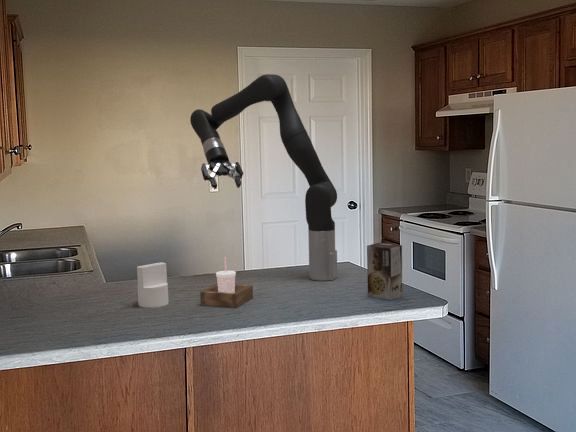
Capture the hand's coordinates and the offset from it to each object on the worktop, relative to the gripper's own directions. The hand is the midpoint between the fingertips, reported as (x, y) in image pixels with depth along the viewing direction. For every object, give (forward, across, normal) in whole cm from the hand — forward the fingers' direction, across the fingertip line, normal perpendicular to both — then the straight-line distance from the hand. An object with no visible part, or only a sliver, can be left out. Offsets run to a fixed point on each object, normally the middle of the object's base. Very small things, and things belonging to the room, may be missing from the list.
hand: (227, 186), depth 228 cm
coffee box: (+57, +32, -11) cm, 67 cm away
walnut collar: (+44, -12, +3) cm, 45 cm away
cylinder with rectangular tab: (+37, -32, +9) cm, 50 cm away
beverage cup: (+44, -12, +3) cm, 45 cm away
